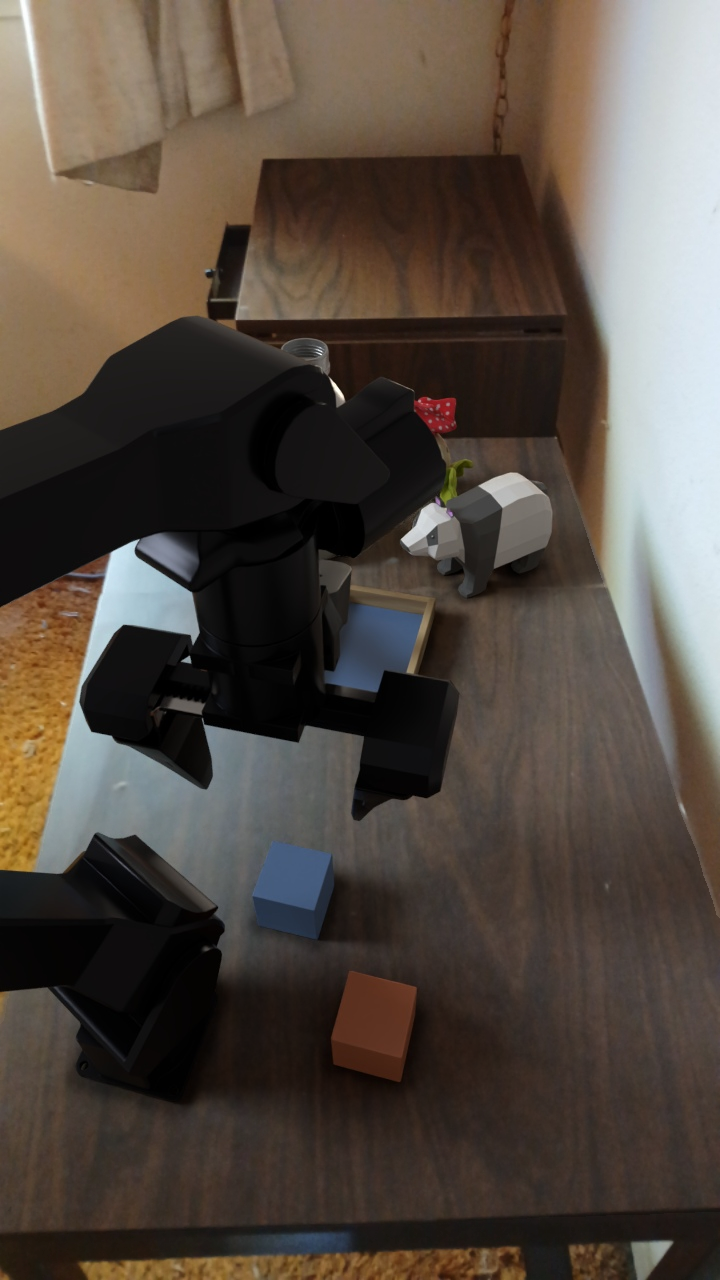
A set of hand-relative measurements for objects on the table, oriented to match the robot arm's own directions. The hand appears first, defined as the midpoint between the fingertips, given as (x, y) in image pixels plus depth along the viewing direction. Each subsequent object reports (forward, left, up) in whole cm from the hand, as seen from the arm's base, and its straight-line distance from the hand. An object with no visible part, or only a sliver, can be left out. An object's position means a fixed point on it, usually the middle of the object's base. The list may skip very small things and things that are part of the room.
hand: (281, 798), depth 52 cm
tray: (+21, +4, -11) cm, 24 cm away
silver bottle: (+34, +8, -11) cm, 36 cm away
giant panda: (+34, -7, -11) cm, 36 cm away
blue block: (-1, -1, -11) cm, 11 cm away
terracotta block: (-8, -8, -11) cm, 15 cm away
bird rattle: (+44, 0, -11) cm, 45 cm away
